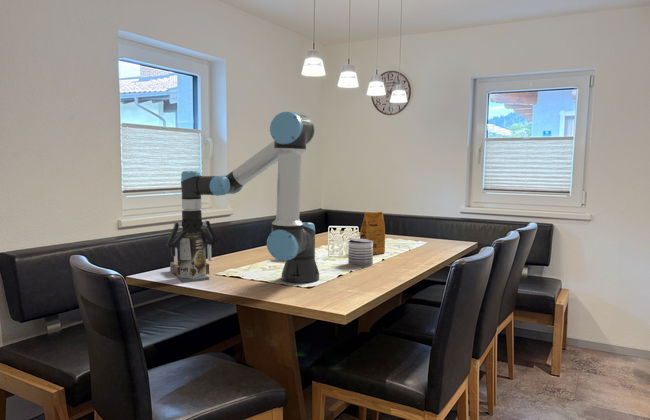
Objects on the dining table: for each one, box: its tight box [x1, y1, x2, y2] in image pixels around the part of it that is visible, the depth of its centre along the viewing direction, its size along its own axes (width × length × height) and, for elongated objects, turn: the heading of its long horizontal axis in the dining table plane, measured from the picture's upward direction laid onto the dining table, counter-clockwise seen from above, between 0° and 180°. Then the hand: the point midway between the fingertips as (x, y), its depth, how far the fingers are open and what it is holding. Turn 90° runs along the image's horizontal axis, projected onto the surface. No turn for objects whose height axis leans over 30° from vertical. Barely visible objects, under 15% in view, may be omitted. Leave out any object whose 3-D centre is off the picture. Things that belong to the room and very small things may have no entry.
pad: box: [176, 274, 210, 283], centre depth 196 cm, size 10×10×1 cm
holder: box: [169, 260, 210, 277], centre depth 207 cm, size 13×13×4 cm
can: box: [347, 237, 374, 268], centre depth 225 cm, size 11×11×12 cm
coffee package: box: [359, 211, 386, 255], centre depth 255 cm, size 10×12×22 cm
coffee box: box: [179, 235, 207, 279], centre depth 195 cm, size 9×6×16 cm
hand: (193, 262), depth 195 cm, fingers open, 13 cm apart
